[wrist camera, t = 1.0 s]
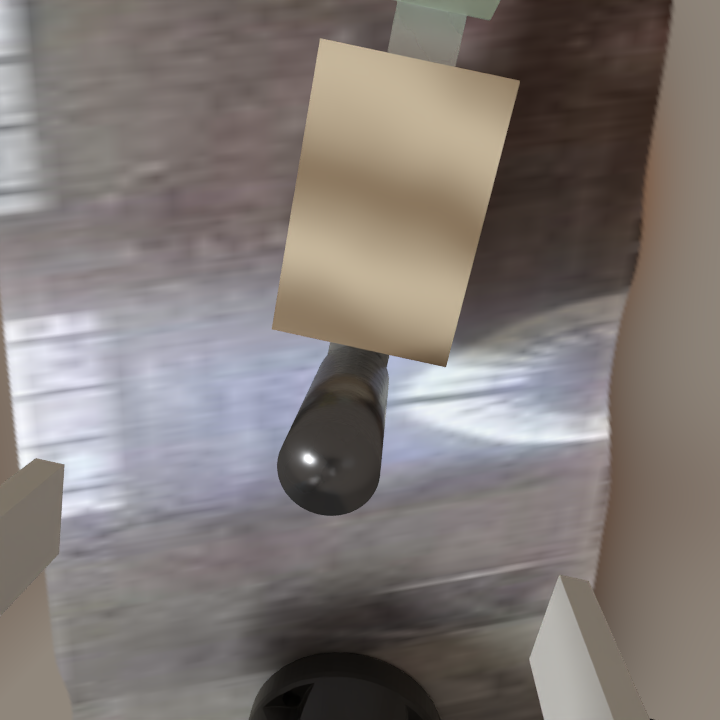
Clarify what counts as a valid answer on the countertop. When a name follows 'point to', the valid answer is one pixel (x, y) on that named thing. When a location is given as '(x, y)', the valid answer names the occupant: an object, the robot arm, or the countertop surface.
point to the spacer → (461, 6)
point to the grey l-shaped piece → (356, 350)
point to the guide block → (390, 200)
